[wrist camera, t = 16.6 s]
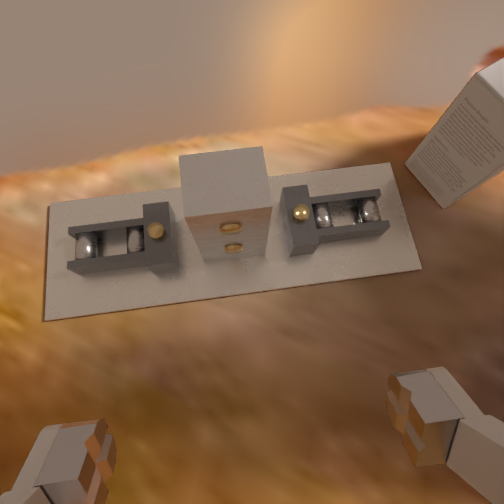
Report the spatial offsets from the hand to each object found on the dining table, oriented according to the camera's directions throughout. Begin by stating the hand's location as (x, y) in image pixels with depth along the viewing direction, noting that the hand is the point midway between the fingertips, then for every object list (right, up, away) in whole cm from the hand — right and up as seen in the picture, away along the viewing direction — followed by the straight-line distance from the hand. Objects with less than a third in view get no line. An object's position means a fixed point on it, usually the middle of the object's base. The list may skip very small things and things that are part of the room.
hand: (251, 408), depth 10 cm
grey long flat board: (-2, +6, +19) cm, 20 cm away
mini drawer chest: (-2, +6, +18) cm, 19 cm away
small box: (+18, +12, +21) cm, 31 cm away
